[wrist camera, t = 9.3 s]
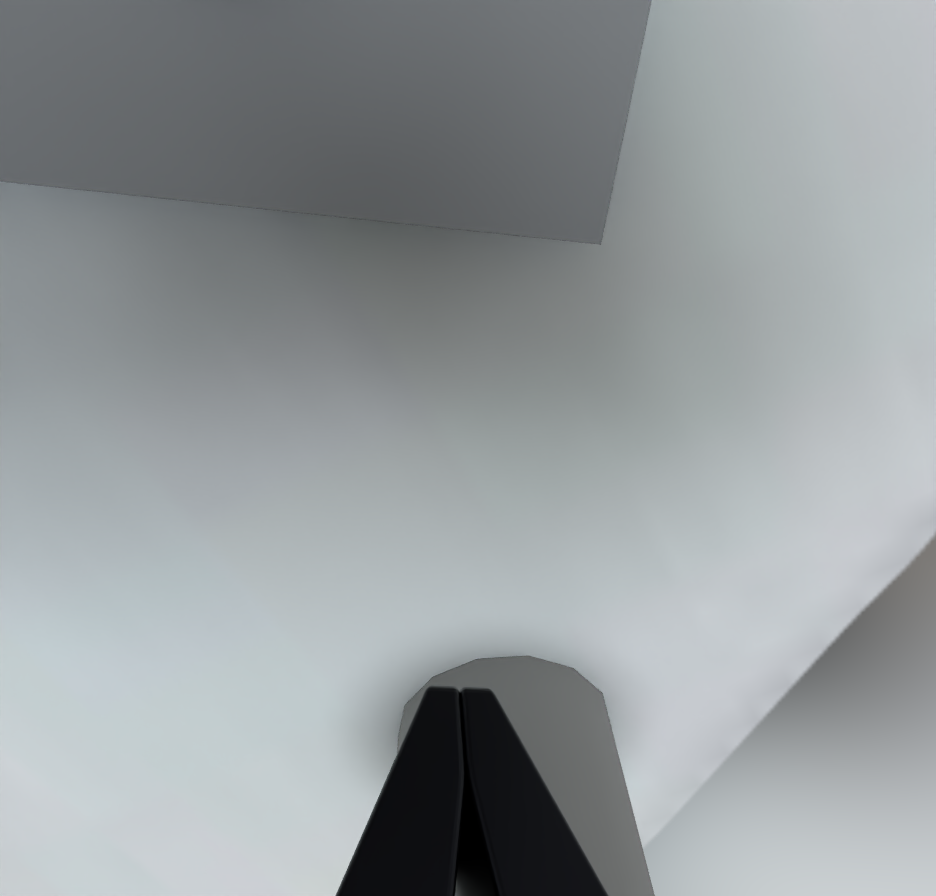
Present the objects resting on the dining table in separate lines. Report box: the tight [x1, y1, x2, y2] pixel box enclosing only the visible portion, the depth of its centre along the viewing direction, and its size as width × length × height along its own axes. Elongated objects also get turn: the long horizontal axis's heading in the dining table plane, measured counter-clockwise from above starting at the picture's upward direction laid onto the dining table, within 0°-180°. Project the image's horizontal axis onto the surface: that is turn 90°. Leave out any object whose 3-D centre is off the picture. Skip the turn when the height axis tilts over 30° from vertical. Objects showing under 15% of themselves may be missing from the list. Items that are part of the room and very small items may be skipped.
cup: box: [397, 656, 655, 896], centre depth 23 cm, size 8×8×10 cm
